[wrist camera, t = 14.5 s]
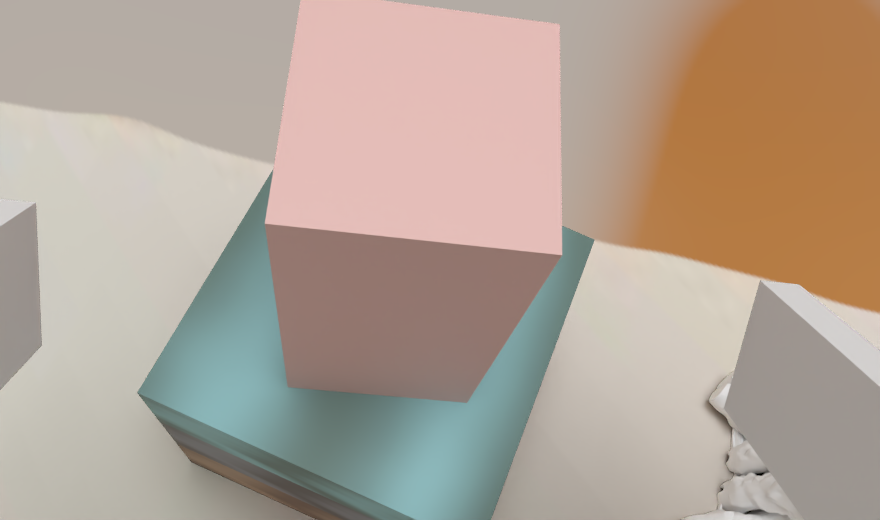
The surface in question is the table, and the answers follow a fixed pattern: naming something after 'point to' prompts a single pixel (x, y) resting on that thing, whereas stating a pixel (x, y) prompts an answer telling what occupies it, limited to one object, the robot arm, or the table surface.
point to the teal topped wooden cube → (343, 403)
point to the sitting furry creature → (746, 479)
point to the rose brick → (412, 194)
